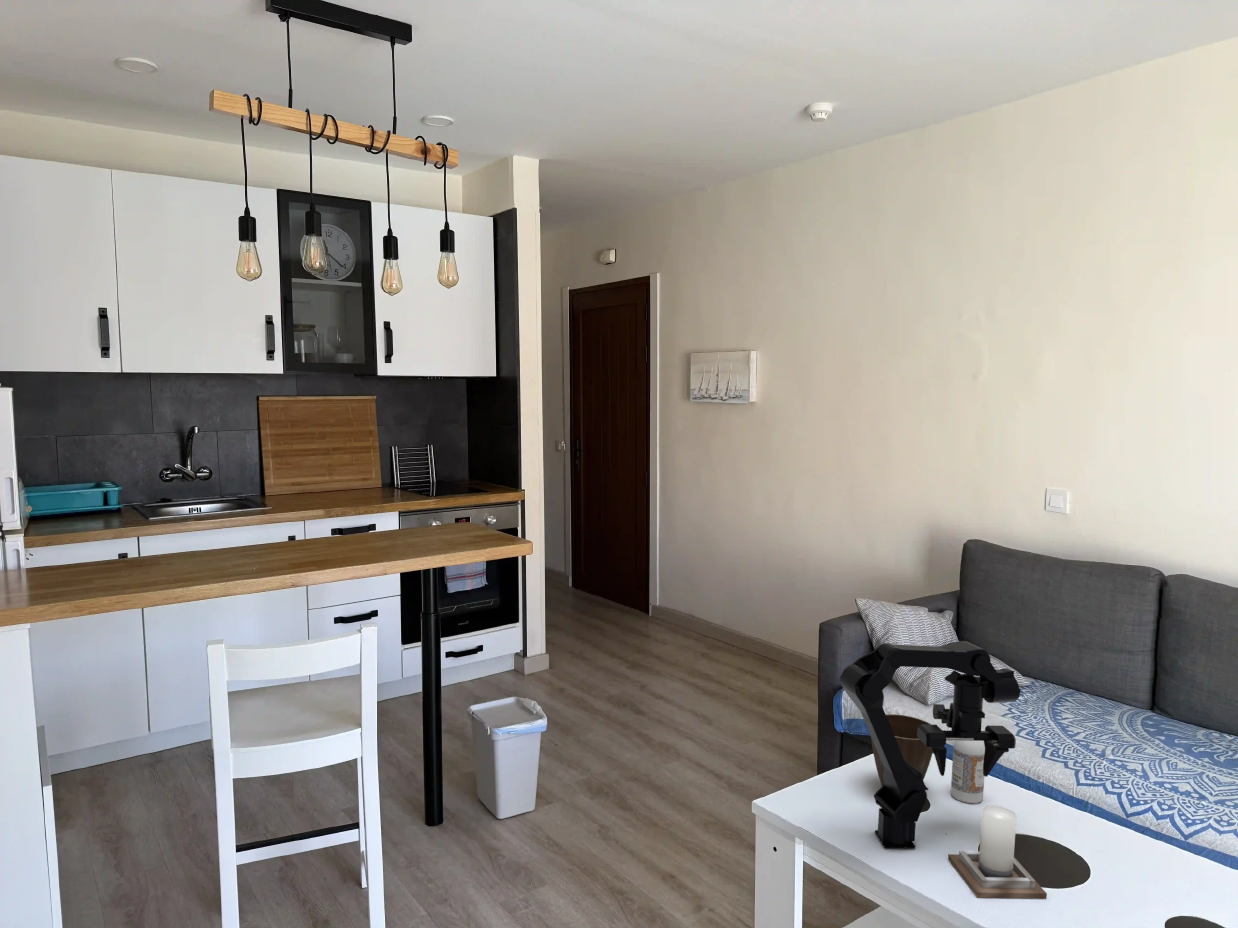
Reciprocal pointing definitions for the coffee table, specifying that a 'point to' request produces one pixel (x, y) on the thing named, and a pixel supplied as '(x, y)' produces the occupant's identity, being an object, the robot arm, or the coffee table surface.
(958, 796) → the bath foam
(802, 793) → the coffee table surface
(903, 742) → the plant pot
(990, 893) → the walnut board
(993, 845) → the white cylinder
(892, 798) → the robot arm
